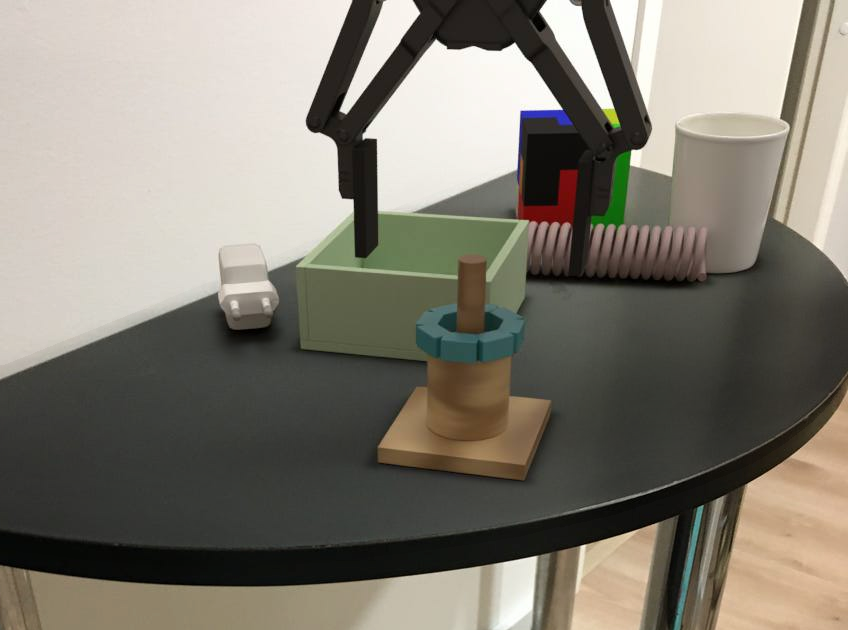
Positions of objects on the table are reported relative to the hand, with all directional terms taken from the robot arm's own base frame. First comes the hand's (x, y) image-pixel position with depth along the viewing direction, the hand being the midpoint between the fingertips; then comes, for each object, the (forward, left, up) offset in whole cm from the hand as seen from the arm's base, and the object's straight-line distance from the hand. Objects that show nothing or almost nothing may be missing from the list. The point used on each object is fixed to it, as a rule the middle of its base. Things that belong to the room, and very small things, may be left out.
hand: (469, 260), depth 70 cm
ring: (0, 0, -5) cm, 5 cm away
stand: (0, 0, -12) cm, 12 cm away
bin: (+9, -20, -12) cm, 25 cm away
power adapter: (+22, -15, -13) cm, 30 cm away
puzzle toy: (+1, -50, -13) cm, 52 cm away
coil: (-5, -35, -13) cm, 38 cm away
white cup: (-14, -42, -13) cm, 46 cm away
